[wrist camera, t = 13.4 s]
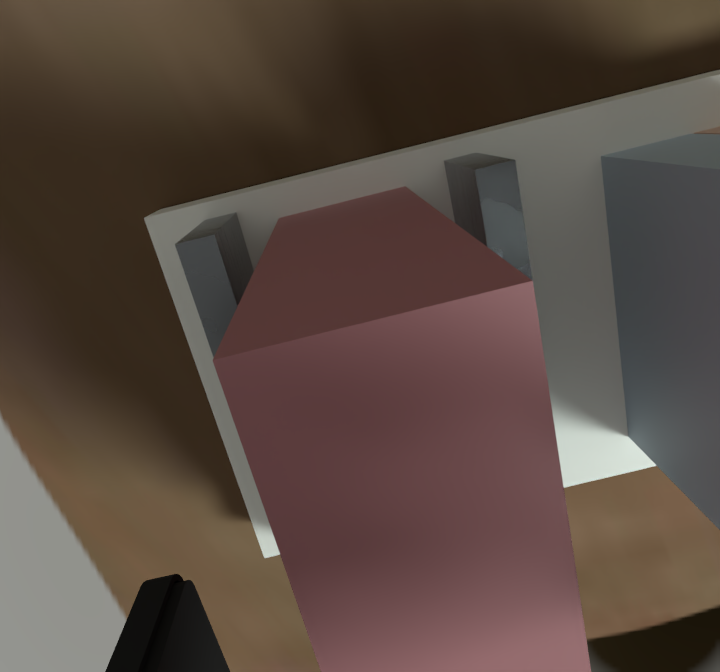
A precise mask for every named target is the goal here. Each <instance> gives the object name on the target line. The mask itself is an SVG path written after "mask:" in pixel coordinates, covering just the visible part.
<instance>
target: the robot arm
mask: <svg viewBox="0 0 720 672" xmlns="http://www.w3.org/2000/svg"><path fill="white" fill-rule="evenodd" d="M105 672H230V670H229V668H228V665H227V663H226V661H225V658H224V656H223V653H222V651H221V649H220V646H219V644H218V641H217V639H216V636H215V634H214V632H213V629H212V627H211V624H210V622H209V620H208V617H207V615H206V612H205V610H204V608H203V605H202V603H201V600H200V598H199V595H198V593H197V591H196V588H195V586H194V584H193V582H192V581H191V580H187V581H183V579H182V577H181V576H180V575H179V574H173V575H169V576H164V577H160V578H155V579H151V580H146V581H145V582H143V584H142V585H141V587H140V590H139V592H138V594H137V597H136V599H135V602H134V604H133V606H132V609H131V611H130V614H129V616H128V618H127V621H126V623H125V626H124V628H123V631H122V633H121V635H120V638H119V640H118V643H117V645H116V647H115V650H114V652H113V655H112V657H111V659H110V662H109V664H108V667H107V669H106V671H105Z"/></svg>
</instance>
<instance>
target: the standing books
mask: <svg viewBox="0 0 720 672" xmlns="http://www.w3.org/2000/svg"><path fill="white" fill-rule="evenodd" d="M601 164H602V174H603V184H604V194H605V205H606V215H607V225H608V235H609V245H610V255H611V266H612V276H613V286H614V296H615V306H616V316H617V327H618V337H619V347H620V357H621V367H622V377H623V388H624V398H625V408H626V418H627V428H628V437H629V438H630V439H631V440H632V441H633V442H634V443H635V444H636V445H637V446H638V447H639V448H640V449H641V450H642V451H643V452H644V453H645V454H646V455H647V456H648V457H649V458H650V459H651V460H652V461H653V462H654V463H655V464H656V465H657V466H658V467H659V468H660V469H661V470H662V471H663V472H664V473H665V474H666V476H667V477H668V478H669V479H670V480H671V481H672V482H673V483H674V484H675V485H676V486H677V487H678V488H679V489H680V490H681V491H682V492H683V493H684V494H685V495H686V496H687V497H688V498H689V499H690V500H691V501H692V502H693V503H694V504H695V505H696V506H697V507H698V508H699V509H700V510H701V511H702V512H703V513H704V514H705V515H706V516H707V517H708V518H709V519H710V520H711V521H712V522H713V523H714V524H715V525H716V527H717V528H718V529H719V530H720V126H719V127H715V128H711V129H707V130H703V131H699V132H695V133H694V134H687V135H683V136H679V137H675V138H671V139H667V140H663V141H659V142H655V143H651V144H647V145H643V146H639V147H635V148H631V149H627V150H623V151H619V152H614V153H610V154H606V155H602V156H601Z"/></svg>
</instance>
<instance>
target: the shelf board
mask: <svg viewBox="0 0 720 672" xmlns="http://www.w3.org/2000/svg"><path fill="white" fill-rule="evenodd" d="M719 126H720V70H716V71H712V72H708V73H704V74H700V75H696V76H692V77H688V78H684V79H680V80H676V81H672V82H668V83H664V84H660V85H656V86H652V87H648V88H643V89H640V90H635V91H631V92H627V93H623V94H619V95H615V96H611V97H607V98H603V99H599V100H595V101H591V102H587V103H583V104H579V105H575V106H571V107H567V108H563V109H559V110H555V111H551V112H547V113H543V114H539V115H535V116H531V117H527V118H523V119H519V120H515V121H511V122H507V123H503V124H499V125H495V126H491V127H487V128H483V129H479V130H475V131H471V132H467V133H463V134H459V135H455V136H451V137H447V138H443V139H439V140H435V141H431V142H427V143H423V144H419V145H415V146H411V147H407V148H403V149H399V150H395V151H391V152H387V153H383V154H379V155H375V156H371V157H367V158H363V159H359V160H355V161H351V162H347V163H343V164H339V165H335V166H331V167H327V168H323V169H319V170H315V171H311V172H307V173H303V174H299V175H295V176H291V177H287V178H283V179H279V180H275V181H271V182H267V183H263V184H259V185H255V186H251V187H247V188H243V189H239V190H235V191H231V192H227V193H223V194H219V195H215V196H211V197H207V198H203V199H199V200H195V201H191V202H187V203H183V204H179V205H175V206H171V207H167V208H163V209H160V210H158V211H156V212H154V213H152V214H150V215H148V216H146V217H144V220H145V223H146V226H147V229H148V231H149V234H150V237H151V240H152V243H153V245H154V248H155V251H156V254H157V257H158V260H159V262H160V265H161V268H162V271H163V274H164V276H165V279H166V282H167V285H168V288H169V291H170V293H171V296H172V299H173V302H174V305H175V307H176V310H177V313H178V316H179V319H180V322H181V324H182V327H183V330H184V333H185V336H186V338H187V341H188V344H189V347H190V350H191V353H192V355H193V358H194V361H195V364H196V367H197V369H198V372H199V375H200V378H201V381H202V384H203V386H204V389H205V392H206V395H207V398H208V400H209V403H210V406H211V409H212V412H213V415H214V417H215V420H216V423H217V426H218V429H219V431H220V434H221V437H222V440H223V443H224V446H225V448H226V451H227V454H228V457H229V460H230V462H231V465H232V468H233V471H234V474H235V477H236V479H237V482H238V485H239V488H240V491H241V493H242V496H243V499H244V502H245V505H246V508H247V510H248V513H249V516H250V519H251V522H252V524H253V527H254V530H255V533H256V536H257V539H258V541H259V544H260V547H261V550H262V553H263V555H264V558H268V557H272V556H276V555H280V552H279V550H278V547H277V544H276V541H275V538H274V535H273V532H272V530H271V527H270V524H269V521H268V518H267V515H266V512H265V509H264V507H263V504H262V501H261V498H260V495H259V492H258V489H257V487H256V484H255V481H254V478H253V475H252V472H251V469H250V466H249V464H248V461H247V458H246V455H245V452H244V449H243V446H242V444H241V441H240V438H239V435H238V432H237V429H236V426H235V423H234V421H233V418H232V415H231V412H230V409H229V406H228V403H227V401H226V398H225V395H224V392H223V389H222V386H221V383H220V381H219V378H218V375H217V372H216V369H215V366H214V363H213V358H214V357H213V355H212V352H211V349H210V346H209V343H208V340H207V337H206V334H205V331H204V328H203V325H202V322H201V320H200V317H199V314H198V311H197V308H196V305H195V302H194V299H193V296H192V293H191V290H190V287H189V285H188V282H187V279H186V276H185V273H184V270H183V267H182V264H181V261H180V258H179V255H178V252H177V250H176V247H175V244H176V243H177V242H178V241H179V240H181V239H182V238H183V237H184V236H186V235H187V234H188V233H189V232H191V231H192V230H193V229H194V228H195V227H197V226H198V225H199V224H200V223H202V222H203V221H204V220H207V219H211V218H215V217H219V216H223V215H227V214H231V213H235V212H236V213H237V216H238V220H239V223H240V226H241V230H242V233H243V236H244V240H245V243H246V246H247V249H248V253H249V256H250V259H251V263H252V266H253V269H254V270H255V268H256V266H257V264H258V262H259V259H260V257H261V255H262V253H263V251H264V249H265V247H266V244H267V242H268V240H269V238H270V236H271V234H272V232H273V229H274V227H275V225H276V223H277V221H278V219H279V218H281V217H285V216H289V215H293V214H297V213H301V212H305V211H309V210H313V209H317V208H321V207H325V206H329V205H333V204H337V203H340V202H344V201H348V200H352V199H356V198H360V197H364V196H368V195H372V194H376V193H380V192H384V191H388V190H392V189H396V188H400V187H404V186H406V187H407V188H408V189H410V190H411V191H413V192H414V193H415V194H417V195H418V196H419V197H421V198H422V199H423V200H425V201H426V202H427V203H429V204H430V205H431V206H433V207H434V208H435V209H437V210H438V211H439V212H441V213H442V214H444V215H445V216H446V217H448V218H449V219H450V220H452V221H453V222H454V223H455V219H454V214H453V209H452V203H451V198H450V192H449V187H448V181H447V176H446V170H445V165H444V160H448V159H452V158H456V157H460V156H464V155H468V154H472V153H481V154H487V155H492V156H498V157H503V158H509V159H514V160H515V161H516V168H517V175H518V181H519V188H520V195H521V202H522V209H523V216H524V223H525V230H526V237H527V244H528V251H529V258H530V265H531V272H532V278H533V285H534V292H535V299H536V306H537V312H538V319H539V326H540V333H541V339H542V346H543V353H544V359H545V366H546V373H547V379H548V386H549V393H550V400H551V406H552V413H553V420H554V426H555V433H556V440H557V447H558V453H559V460H560V467H561V473H562V480H563V487H568V486H573V485H577V484H581V483H585V482H590V481H594V480H598V479H602V478H607V477H611V476H615V475H619V474H624V473H628V472H632V471H636V470H641V469H645V468H649V467H653V466H657V465H656V464H655V463H654V462H653V461H652V460H651V459H650V458H649V457H648V456H647V455H646V454H645V453H644V452H643V451H642V450H641V449H640V448H639V447H638V446H637V445H636V444H635V443H634V442H633V441H632V440H631V439H630V438H629V437H628V428H627V418H626V408H625V398H624V388H623V377H622V367H621V357H620V347H619V337H618V327H617V316H616V306H615V296H614V286H613V276H612V266H611V255H610V245H609V235H608V225H607V215H606V205H605V194H604V184H603V174H602V164H601V156H602V155H606V154H610V153H614V152H619V151H623V150H627V149H631V148H635V147H639V146H643V145H647V144H651V143H655V142H659V141H663V140H667V139H671V138H675V137H679V136H683V135H687V134H694V133H695V132H699V131H703V130H707V129H711V128H715V127H719Z"/></svg>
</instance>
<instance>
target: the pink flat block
mask: <svg viewBox="0 0 720 672" xmlns="http://www.w3.org/2000/svg"><path fill="white" fill-rule="evenodd" d="M213 363H214V366H215V369H216V372H217V375H218V378H219V381H220V383H221V386H222V389H223V392H224V395H225V398H226V401H227V403H228V406H229V409H230V412H231V415H232V418H233V421H234V423H235V426H236V429H237V432H238V435H239V438H240V441H241V444H242V446H243V449H244V452H245V455H246V458H247V461H248V464H249V466H250V469H251V472H252V475H253V478H254V481H255V484H256V487H257V489H258V492H259V495H260V498H261V501H262V504H263V507H264V509H265V512H266V515H267V518H268V521H269V524H270V527H271V530H272V532H273V535H274V538H275V541H276V544H277V547H278V550H279V552H280V555H281V558H282V561H283V564H284V567H285V570H286V572H287V575H288V578H289V581H290V584H291V587H292V590H293V593H294V595H295V598H296V601H297V604H298V607H299V610H300V613H301V615H302V618H303V621H304V624H305V627H306V630H307V633H308V636H309V638H310V641H311V644H312V647H313V650H314V653H315V656H316V658H317V661H318V664H319V667H320V670H321V672H591V668H590V662H589V655H588V648H587V641H586V634H585V628H584V621H583V614H582V607H581V601H580V594H579V587H578V581H577V574H576V567H575V561H574V554H573V547H572V540H571V534H570V527H569V520H568V514H567V507H566V500H565V493H564V487H563V480H562V473H561V467H560V460H559V453H558V447H557V440H556V433H555V426H554V420H553V413H552V406H551V400H550V393H549V386H548V379H547V373H546V366H545V359H544V353H543V346H542V339H541V333H540V326H539V319H538V312H537V306H536V299H535V292H534V286H533V281H532V280H531V279H530V278H528V277H527V276H526V275H524V274H523V273H522V272H520V271H519V270H518V269H516V268H515V267H514V266H512V265H511V264H510V263H508V262H507V261H505V260H504V259H503V258H501V257H500V256H499V255H497V254H496V253H495V252H493V251H492V250H491V249H489V248H488V247H487V246H485V245H484V244H483V243H481V242H480V241H479V240H477V239H476V238H474V237H473V236H472V235H470V234H469V233H468V232H466V231H465V230H464V229H462V228H461V227H460V226H458V225H457V224H456V223H454V222H453V221H452V220H450V219H449V218H448V217H446V216H445V215H444V214H442V213H441V212H439V211H438V210H437V209H435V208H434V207H433V206H431V205H430V204H429V203H427V202H426V201H425V200H423V199H422V198H421V197H419V196H418V195H417V194H415V193H414V192H413V191H411V190H410V189H408V188H407V187H406V186H404V187H400V188H396V189H392V190H388V191H384V192H380V193H376V194H372V195H368V196H364V197H360V198H356V199H352V200H348V201H344V202H340V203H337V204H333V205H329V206H325V207H321V208H317V209H313V210H309V211H305V212H301V213H297V214H293V215H289V216H285V217H281V218H279V219H278V221H277V223H276V225H275V227H274V229H273V232H272V234H271V236H270V238H269V240H268V242H267V244H266V247H265V249H264V251H263V253H262V255H261V257H260V259H259V262H258V264H257V266H256V268H255V270H254V272H253V274H252V277H251V279H250V281H249V283H248V285H247V287H246V289H245V292H244V294H243V296H242V298H241V300H240V302H239V304H238V307H237V309H236V311H235V313H234V315H233V317H232V319H231V322H230V324H229V326H228V328H227V330H226V332H225V334H224V337H223V339H222V341H221V343H220V345H219V347H218V349H217V352H216V354H215V356H214V358H213Z"/></svg>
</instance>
